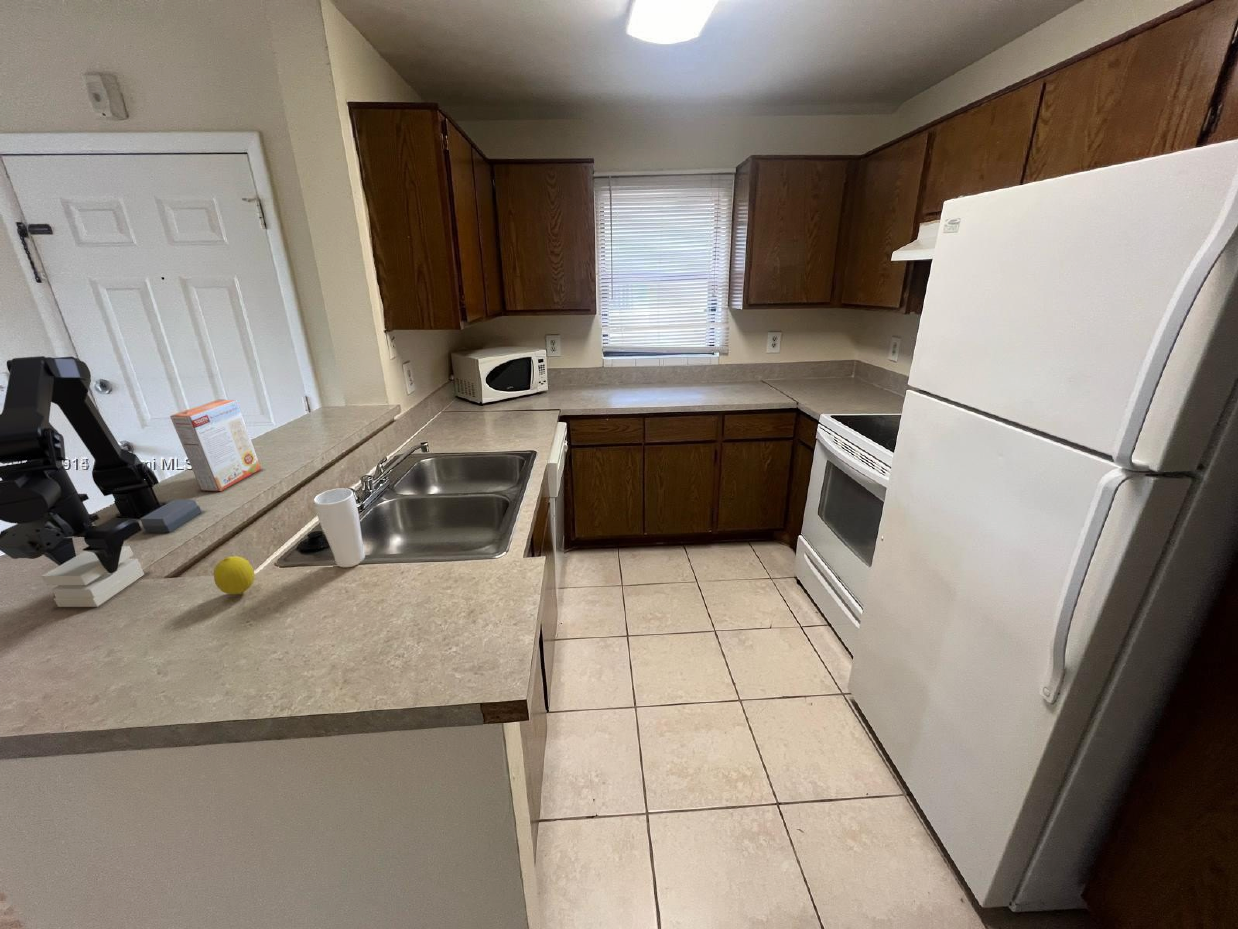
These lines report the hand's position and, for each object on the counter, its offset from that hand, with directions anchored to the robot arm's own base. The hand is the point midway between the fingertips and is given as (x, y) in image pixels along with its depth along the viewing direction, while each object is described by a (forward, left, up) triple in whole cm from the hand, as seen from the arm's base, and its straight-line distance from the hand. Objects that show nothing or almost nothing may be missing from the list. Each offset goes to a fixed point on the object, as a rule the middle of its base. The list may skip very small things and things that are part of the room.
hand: (93, 572), depth 86 cm
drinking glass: (-9, +41, -4) cm, 42 cm away
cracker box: (-46, -10, -4) cm, 47 cm away
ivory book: (0, 0, +1) cm, 1 cm away
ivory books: (0, 0, -4) cm, 4 cm away
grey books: (-24, -7, -4) cm, 25 cm away
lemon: (+1, +26, -4) cm, 26 cm away
